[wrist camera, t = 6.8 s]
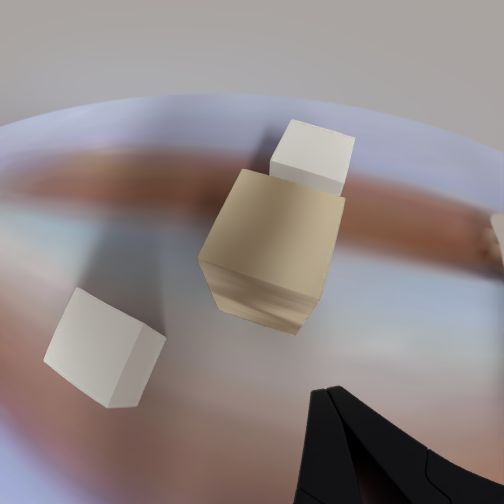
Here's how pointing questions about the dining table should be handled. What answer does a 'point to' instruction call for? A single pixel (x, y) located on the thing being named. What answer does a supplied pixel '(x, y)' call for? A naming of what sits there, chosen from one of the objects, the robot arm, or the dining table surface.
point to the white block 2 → (312, 157)
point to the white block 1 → (104, 351)
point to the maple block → (271, 250)
